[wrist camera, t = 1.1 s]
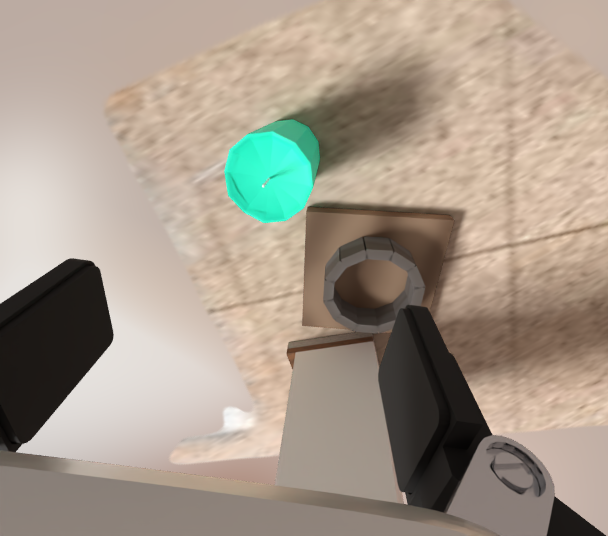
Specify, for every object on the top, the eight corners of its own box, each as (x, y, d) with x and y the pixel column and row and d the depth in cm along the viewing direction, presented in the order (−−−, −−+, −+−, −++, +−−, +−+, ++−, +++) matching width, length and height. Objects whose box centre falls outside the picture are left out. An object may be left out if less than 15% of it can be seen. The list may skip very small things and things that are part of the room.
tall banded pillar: (288, 342, 41) (151, 1061, 11) (371, 329, 39) (499, 1183, 8) (311, 402, 46) (261, 1007, 16) (385, 394, 44) (498, 1076, 14)
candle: (282, 103, 28) (249, 109, 18) (333, 149, 30) (332, 179, 19) (244, 158, 31) (197, 192, 20) (294, 198, 32) (273, 248, 22)
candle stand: (449, 215, 32) (465, 232, 28) (420, 327, 38) (429, 354, 34) (307, 206, 32) (303, 222, 28) (303, 317, 39) (299, 343, 35)
